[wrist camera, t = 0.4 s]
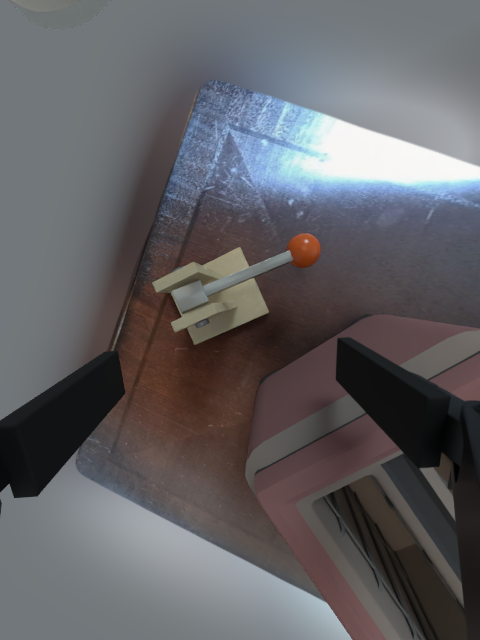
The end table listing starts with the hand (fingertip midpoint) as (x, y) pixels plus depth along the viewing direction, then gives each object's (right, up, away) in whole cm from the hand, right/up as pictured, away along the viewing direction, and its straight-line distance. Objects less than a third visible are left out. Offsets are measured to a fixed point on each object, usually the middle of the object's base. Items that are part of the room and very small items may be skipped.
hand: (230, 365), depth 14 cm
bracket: (-3, +6, +21) cm, 22 cm away
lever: (+1, +8, +12) cm, 14 cm away
